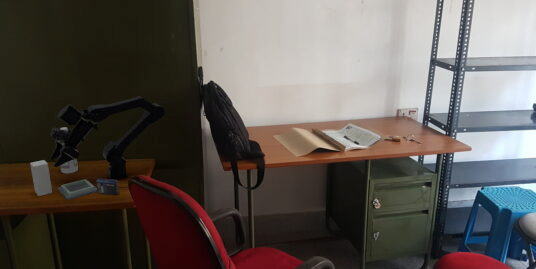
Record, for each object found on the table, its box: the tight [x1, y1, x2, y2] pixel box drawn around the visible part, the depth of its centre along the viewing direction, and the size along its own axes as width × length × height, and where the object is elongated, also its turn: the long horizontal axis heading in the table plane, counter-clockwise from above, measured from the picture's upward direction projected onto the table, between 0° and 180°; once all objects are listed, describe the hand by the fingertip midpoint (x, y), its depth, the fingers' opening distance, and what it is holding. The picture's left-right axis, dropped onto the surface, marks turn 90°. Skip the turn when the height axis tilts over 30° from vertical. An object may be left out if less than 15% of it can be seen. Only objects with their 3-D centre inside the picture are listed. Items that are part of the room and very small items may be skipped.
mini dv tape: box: [96, 178, 120, 196], centre depth 170 cm, size 8×2×6 cm, turn 80°
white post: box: [29, 159, 53, 197], centre depth 169 cm, size 5×5×12 cm
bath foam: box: [59, 126, 79, 175], centre depth 189 cm, size 7×7×20 cm
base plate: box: [57, 178, 98, 201], centre depth 173 cm, size 12×12×2 cm
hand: (52, 162), depth 170 cm, fingers open, 9 cm apart
